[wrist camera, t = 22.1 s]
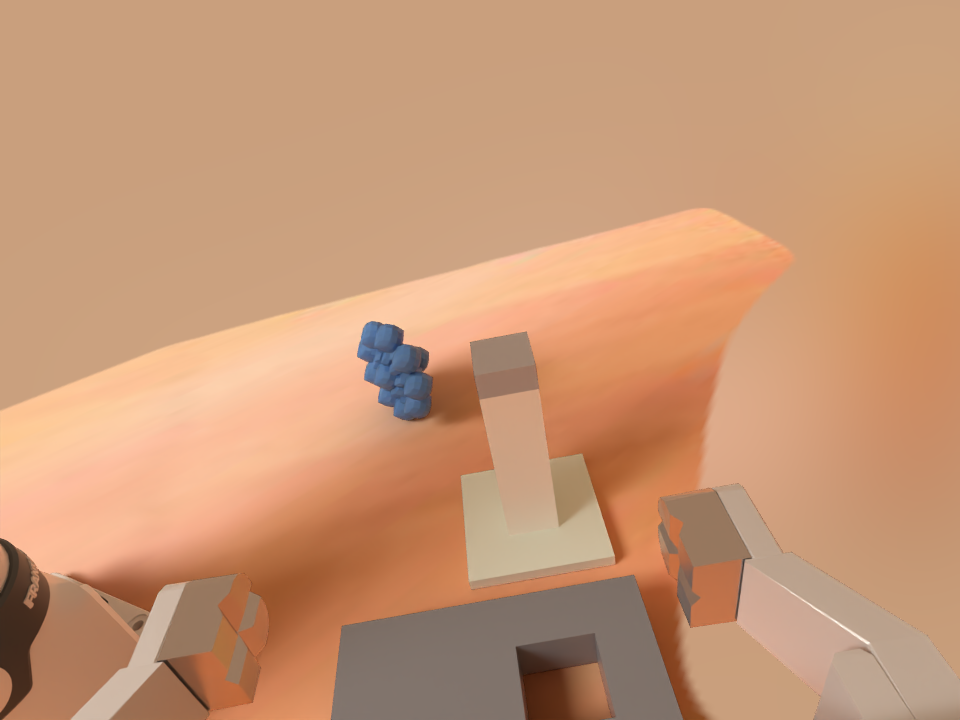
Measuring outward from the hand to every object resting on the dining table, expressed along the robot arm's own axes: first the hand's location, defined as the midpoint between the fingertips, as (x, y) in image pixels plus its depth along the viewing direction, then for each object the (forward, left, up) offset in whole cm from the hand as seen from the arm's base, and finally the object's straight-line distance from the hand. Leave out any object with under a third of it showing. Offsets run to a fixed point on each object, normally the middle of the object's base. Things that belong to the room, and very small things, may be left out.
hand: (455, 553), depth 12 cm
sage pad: (-15, +21, -30) cm, 39 cm away
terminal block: (-9, +7, -30) cm, 32 cm away
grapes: (-33, +27, -30) cm, 53 cm away
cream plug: (-15, +21, -29) cm, 39 cm away
